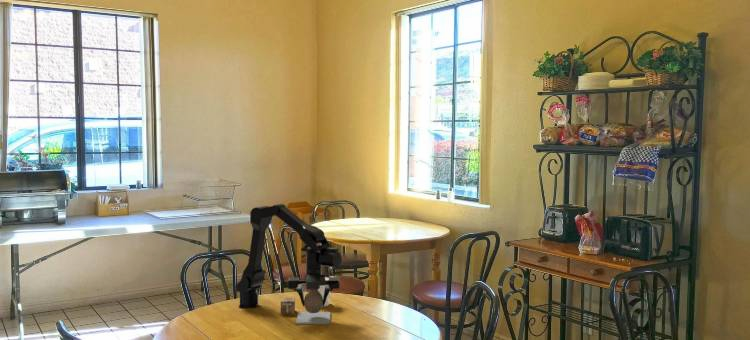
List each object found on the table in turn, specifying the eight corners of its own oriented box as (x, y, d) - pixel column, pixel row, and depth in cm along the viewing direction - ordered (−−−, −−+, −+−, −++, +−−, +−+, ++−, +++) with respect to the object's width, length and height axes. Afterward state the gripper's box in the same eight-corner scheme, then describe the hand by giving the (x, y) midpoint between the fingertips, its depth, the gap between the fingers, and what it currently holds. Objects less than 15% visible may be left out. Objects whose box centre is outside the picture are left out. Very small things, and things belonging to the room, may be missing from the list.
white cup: (321, 308, 242) (321, 283, 241) (306, 304, 246) (306, 279, 246) (334, 304, 248) (334, 279, 247) (319, 300, 253) (320, 276, 252)
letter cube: (280, 314, 234) (280, 301, 233) (281, 310, 239) (281, 297, 238) (294, 314, 234) (294, 301, 234) (295, 310, 239) (295, 297, 239)
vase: (324, 309, 232) (324, 286, 231) (321, 315, 225) (321, 291, 224) (306, 308, 233) (306, 285, 232) (302, 314, 226) (302, 290, 225)
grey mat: (296, 324, 223) (296, 322, 223) (298, 313, 235) (298, 312, 235) (329, 323, 224) (329, 322, 223) (330, 313, 235) (330, 312, 235)
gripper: (286, 269, 219) (285, 313, 220) (339, 269, 220) (339, 313, 221) (288, 262, 230) (288, 303, 231) (339, 262, 231) (339, 303, 232)
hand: (313, 306), depth 229 cm, fingers closed on vase, 7 cm apart
